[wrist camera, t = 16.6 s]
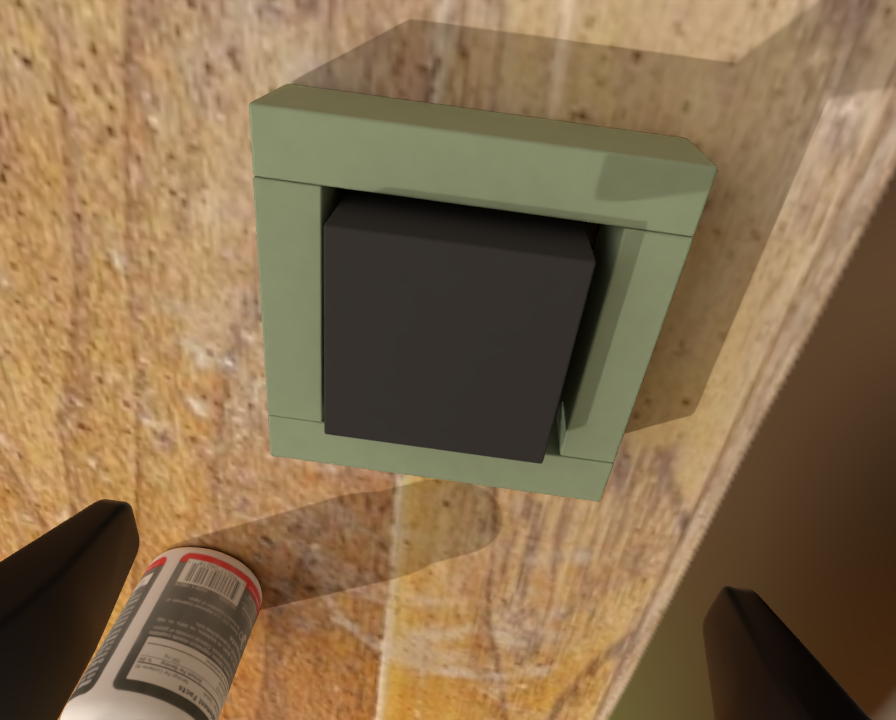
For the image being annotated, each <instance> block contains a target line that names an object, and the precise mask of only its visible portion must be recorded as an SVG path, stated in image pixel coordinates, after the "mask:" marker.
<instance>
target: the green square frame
mask: <svg viewBox="0 0 896 720" xmlns="http://www.w3.org/2000/svg"><path fill="white" fill-rule="evenodd" d="M249 114H250V129H251V145H252V161H253V173H254V175H255V177H254V178H253V185H254V200H255V216H256V231H257V247H258V262H259V278H260V293H261V309H262V324H263V340H264V356H265V371H266V387H267V402H268V414H269V415H268V419H269V434H270V450H271V455H272V456H277V457H285V458H292V459H299V460H306V461H313V462H320V463H327V464H334V465H341V466H349V467H356V468H363V469H370V470H377V471H384V472H391V473H398V474H406V475H413V476H420V477H427V478H434V479H441V480H448V481H455V482H463V483H470V484H477V485H484V486H491V487H498V488H505V489H512V490H520V491H527V492H534V493H541V494H548V495H555V496H562V497H569V498H577V499H584V500H591V501H598V502H600V501H601V498H602V495H603V492H604V490H605V487H606V484H607V481H608V478H609V476H610V473H611V470H612V467H613V464H614V463H613V462H614V460H615V458H616V455H617V452H618V449H619V446H620V444H621V441H622V438H623V435H624V432H625V430H626V427H627V424H628V421H629V418H630V416H631V413H632V410H633V407H634V404H635V401H636V399H637V396H638V393H639V390H640V387H641V385H642V382H643V379H644V376H645V373H646V371H647V368H648V365H649V362H650V359H651V357H652V354H653V351H654V348H655V345H656V343H657V340H658V337H659V334H660V331H661V328H662V326H663V323H664V320H665V317H666V314H667V312H668V309H669V306H670V303H671V300H672V298H673V295H674V292H675V289H676V286H677V284H678V281H679V278H680V275H681V272H682V269H683V267H684V264H685V261H686V258H687V255H688V253H689V250H690V247H691V244H692V241H693V237H692V236H694V234H695V232H696V230H697V227H698V224H699V221H700V218H701V216H702V213H703V210H704V207H705V204H706V202H707V199H708V196H709V193H710V190H711V187H712V185H713V182H714V179H715V176H716V173H717V171H718V167H717V166H716V165H715V164H714V163H713V162H712V161H710V160H709V159H708V158H707V157H706V156H705V155H704V154H703V153H702V152H701V151H700V150H699V149H698V148H696V147H695V146H694V145H693V144H692V143H691V142H690V141H689V140H688V139H686V138H681V137H674V136H666V135H659V134H652V133H644V132H637V131H630V130H622V129H615V128H608V127H600V126H593V125H586V124H579V123H571V122H564V121H557V120H549V119H542V118H535V117H527V116H520V115H513V114H505V113H498V112H491V111H484V110H476V109H469V108H462V107H454V106H447V105H440V104H432V103H425V102H418V101H410V100H403V99H396V98H388V97H381V96H374V95H367V94H359V93H352V92H345V91H337V90H330V89H323V88H315V87H308V86H301V85H293V84H286V85H284V86H282V87H280V88H278V89H276V90H274V91H272V92H270V93H268V94H266V95H264V96H262V97H261V98H259V99H257V100H255V101H253V102H251V103H250V105H249ZM346 189H352V190H359V191H366V192H374V193H381V194H388V195H395V196H403V197H410V198H417V199H424V200H432V201H439V202H446V203H453V204H461V205H468V206H475V207H482V208H490V209H497V210H504V211H511V212H519V213H526V214H533V215H541V216H548V217H555V218H562V219H570V220H577V221H584V222H591V223H599V224H600V228H599V231H598V235H597V239H596V243H595V247H594V250H593V255H594V258H595V261H596V265H595V268H594V272H593V276H592V280H591V283H590V287H589V291H588V295H587V298H586V302H585V306H584V310H583V313H582V317H581V321H580V325H579V329H578V332H577V336H576V340H575V344H574V347H573V351H572V355H571V359H570V362H569V366H568V370H567V374H566V377H565V381H564V385H563V389H562V393H561V396H560V400H559V404H558V408H557V411H556V415H555V419H554V423H553V426H552V430H551V434H550V438H549V441H548V445H547V449H546V453H545V457H544V460H543V463H542V464H538V463H531V462H524V461H517V460H509V459H502V458H495V457H488V456H480V455H473V454H466V453H459V452H451V451H444V450H437V449H430V448H422V447H415V446H408V445H401V444H393V443H386V442H379V441H372V440H364V439H357V438H350V437H343V436H335V435H328V434H325V432H324V225H325V223H326V222H327V220H328V219H329V218H330V216H331V215H332V213H333V212H334V211H335V209H336V208H337V206H338V205H339V204H340V202H341V201H342V199H343V198H344V197H345V195H346Z"/></svg>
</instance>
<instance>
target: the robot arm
mask: <svg viewBox="0 0 896 720" xmlns="http://www.w3.org/2000/svg"><path fill="white" fill-rule="evenodd" d="M138 548H139V534H138V530H137V526H136V522H135V518H134V514H133V510H132V507H131V506H130V505H129V504H128V503H127V502H122V501H115V500H108V499H103V500H99V501H97V502H95V503H93V504H92V505H90V506H88V507H87V508H85V509H84V510H82V511H80V512H79V513H77V514H76V515H74V516H73V517H71V518H69V519H68V520H66V521H65V522H63V523H61V524H60V525H58V526H57V527H55V528H53V529H52V530H50V531H49V532H47V533H46V534H44V535H42V536H41V537H39V538H38V539H36V540H34V541H33V542H31V543H30V544H28V545H27V546H25V547H23V548H22V549H20V550H19V551H17V552H15V553H14V554H12V555H11V556H9V557H7V558H6V559H4V560H3V561H1V562H0V720H57V719H58V717H59V716H60V714H61V712H62V710H63V708H64V707H65V705H66V703H67V701H68V699H69V697H70V696H71V694H72V692H73V690H74V688H75V687H76V685H77V683H78V681H79V679H80V678H81V676H82V674H83V672H84V670H85V669H86V667H87V665H88V663H89V661H90V659H91V657H92V655H93V654H94V652H95V650H96V647H97V645H98V643H99V641H100V639H101V636H102V634H103V632H104V630H105V627H106V625H107V623H108V620H109V618H110V616H111V613H112V611H113V609H114V606H115V604H116V602H117V599H118V597H119V595H120V592H121V590H122V588H123V585H124V583H125V581H126V578H127V576H128V574H129V571H130V569H131V567H132V564H133V562H134V560H135V557H136V555H137V552H138ZM703 638H704V646H705V653H706V660H707V667H708V675H709V682H710V690H711V698H712V705H713V712H714V720H871V719H870V717H869V716H868V715H867V714H866V713H865V712H864V711H863V710H862V709H861V708H860V707H859V705H858V704H857V703H856V702H855V701H854V700H853V699H852V698H851V697H850V696H849V694H848V693H847V692H846V691H845V690H844V689H843V688H842V687H841V686H840V684H839V683H838V682H837V681H836V680H835V679H834V678H833V677H832V676H831V675H830V673H829V672H828V671H827V670H826V669H825V668H824V667H823V666H822V665H821V664H820V662H819V661H818V660H817V659H816V658H815V657H814V656H813V655H812V654H811V653H810V651H809V650H808V649H807V648H806V647H805V646H804V645H803V644H802V643H801V642H800V640H799V639H798V638H797V637H796V636H795V635H794V634H793V633H792V632H791V631H790V629H789V628H788V627H787V626H786V625H785V624H784V623H783V622H782V621H781V620H780V618H779V617H778V616H777V615H776V614H775V613H774V612H773V611H772V610H771V609H770V607H769V606H768V605H767V604H766V603H765V602H764V601H763V600H762V599H761V598H760V597H759V595H758V594H757V593H755V592H754V591H753V590H751V589H748V588H741V587H734V586H725V587H723V588H721V590H720V591H719V593H718V594H717V596H716V598H715V599H714V601H713V603H712V605H711V606H710V608H709V610H708V612H707V614H706V615H705V618H704V621H703Z"/></svg>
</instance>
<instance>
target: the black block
mask: <svg viewBox="0 0 896 720" xmlns="http://www.w3.org/2000/svg"><path fill="white" fill-rule="evenodd" d="M595 265H596V261H595V258H594V255H593V252H592V248H591V245H590V242H589V239H588V235H587V232H586V229H585V226H584V222H583V221H577V220H570V219H562V218H555V217H548V216H541V215H533V214H526V213H519V212H511V211H504V210H497V209H490V208H482V207H475V206H468V205H461V204H453V203H446V202H439V201H432V200H424V199H417V198H410V197H403V196H395V195H388V194H381V193H374V192H366V191H359V190H352V189H350V190H349V191H348V192H347V194H346V195H345V197H344V198H343V199H342V201H341V202H340V204H339V205H338V206H337V208H336V209H335V211H334V212H333V213H332V215H331V216H330V218H329V219H328V220H327V222H326V223H325V225H324V432H325V434H328V435H335V436H343V437H350V438H357V439H364V440H372V441H379V442H386V443H393V444H401V445H408V446H415V447H422V448H430V449H437V450H444V451H451V452H459V453H466V454H473V455H480V456H488V457H495V458H502V459H509V460H517V461H524V462H531V463H538V464H542V463H543V460H544V457H545V453H546V449H547V445H548V441H549V438H550V434H551V430H552V426H553V423H554V419H555V415H556V411H557V408H558V404H559V400H560V396H561V393H562V389H563V385H564V381H565V377H566V374H567V370H568V366H569V362H570V359H571V355H572V351H573V347H574V344H575V340H576V336H577V332H578V329H579V325H580V321H581V317H582V313H583V310H584V306H585V302H586V298H587V295H588V291H589V287H590V283H591V280H592V276H593V272H594V268H595Z"/></svg>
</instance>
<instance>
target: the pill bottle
mask: <svg viewBox="0 0 896 720" xmlns="http://www.w3.org/2000/svg"><path fill="white" fill-rule="evenodd" d="M261 603H262V591H261V587H260V584H259V582H258V580H257V578H256V577H255V575H254V574H253V573H252V572H251V570H250V569H249V568H247V567H246V566H245V565H244V564H242V563H241V562H240V561H238V560H236V559H235V558H233V557H231V556H229V555H226V554H224V553H221V552H218V551H215V550H211V549H205V548H198V547H181V548H175V549H171V550H168V551H166V552H164V553H162V554H160V555H159V556H157V557H156V558H155V559H154V560H153V561H152V562H151V564H150V565H149V567H148V568H147V570H146V572H145V573H144V575H143V577H142V578H141V580H140V582H139V583H138V585H137V587H136V588H135V590H134V592H133V593H132V595H131V597H130V598H129V600H128V602H127V604H126V605H125V607H124V609H123V610H122V612H121V614H120V615H119V617H118V619H117V620H116V622H115V624H114V625H113V627H112V629H111V630H110V632H109V634H108V635H107V637H106V639H105V640H104V642H103V644H102V645H101V647H100V649H99V651H98V652H97V654H96V656H95V657H94V659H93V661H92V662H91V664H90V666H89V667H88V669H87V671H86V672H85V674H84V676H83V677H82V679H81V681H80V683H79V684H78V686H77V688H76V689H75V691H74V693H73V694H72V696H71V698H70V699H69V701H68V703H67V705H66V707H65V709H64V711H63V713H62V715H61V718H60V720H218V718H219V716H220V713H221V710H222V708H223V705H224V703H225V700H226V697H227V694H228V692H229V689H230V686H231V684H232V681H233V678H234V675H235V673H236V670H237V667H238V665H239V662H240V660H241V657H242V654H243V652H244V649H245V646H246V644H247V641H248V639H249V636H250V633H251V631H252V628H253V626H254V623H255V621H256V618H257V616H258V614H259V610H260V607H261Z"/></svg>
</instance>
